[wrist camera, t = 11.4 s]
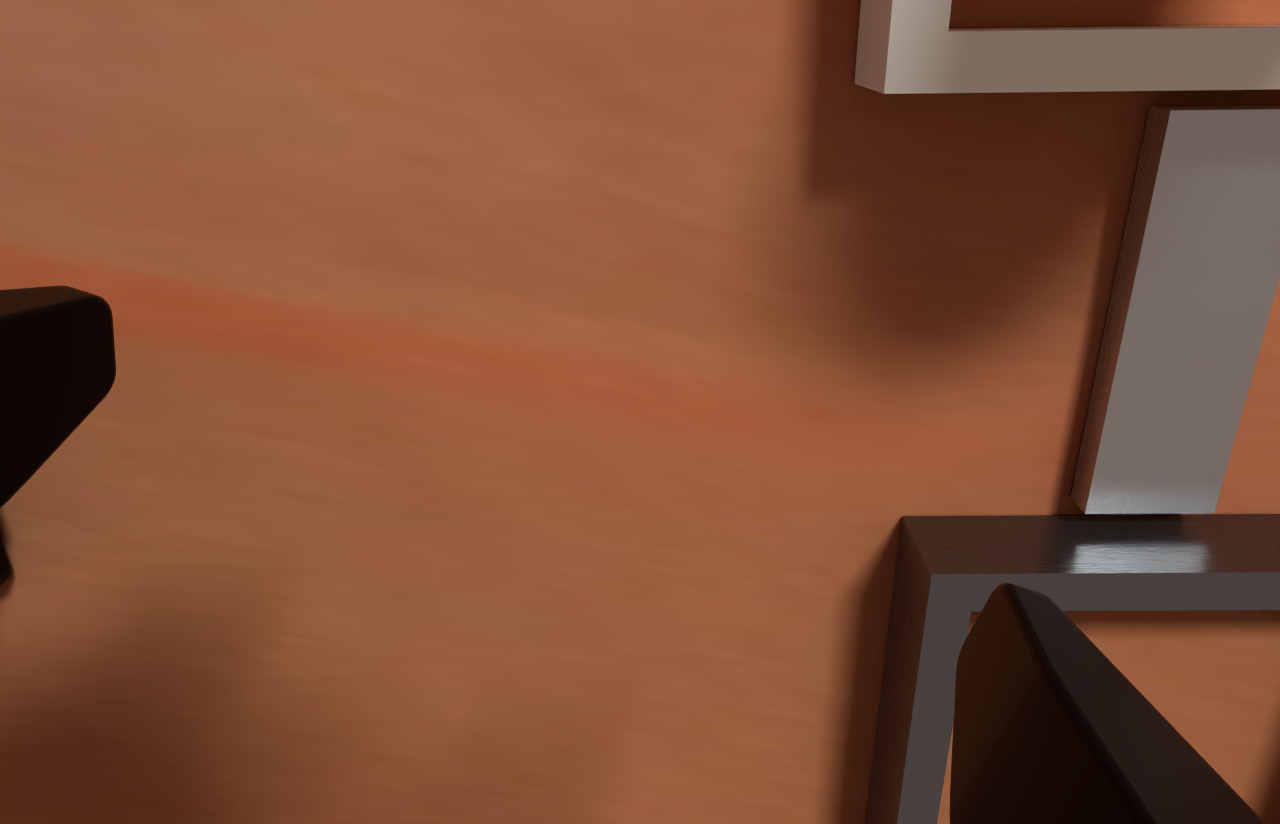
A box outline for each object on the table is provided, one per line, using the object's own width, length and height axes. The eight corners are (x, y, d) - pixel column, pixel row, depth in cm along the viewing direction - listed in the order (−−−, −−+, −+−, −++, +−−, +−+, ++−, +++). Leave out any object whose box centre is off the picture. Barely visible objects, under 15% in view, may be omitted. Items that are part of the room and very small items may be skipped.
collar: (857, 890, 27) (876, 970, 25) (902, 516, 22) (931, 574, 20) (1291, 890, 27) (1350, 970, 25) (1438, 513, 22) (1530, 570, 20)
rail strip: (1070, 497, 22) (1084, 514, 21) (1150, 106, 18) (1170, 110, 18) (1195, 496, 22) (1214, 513, 21) (1299, 104, 18) (1326, 109, 18)
